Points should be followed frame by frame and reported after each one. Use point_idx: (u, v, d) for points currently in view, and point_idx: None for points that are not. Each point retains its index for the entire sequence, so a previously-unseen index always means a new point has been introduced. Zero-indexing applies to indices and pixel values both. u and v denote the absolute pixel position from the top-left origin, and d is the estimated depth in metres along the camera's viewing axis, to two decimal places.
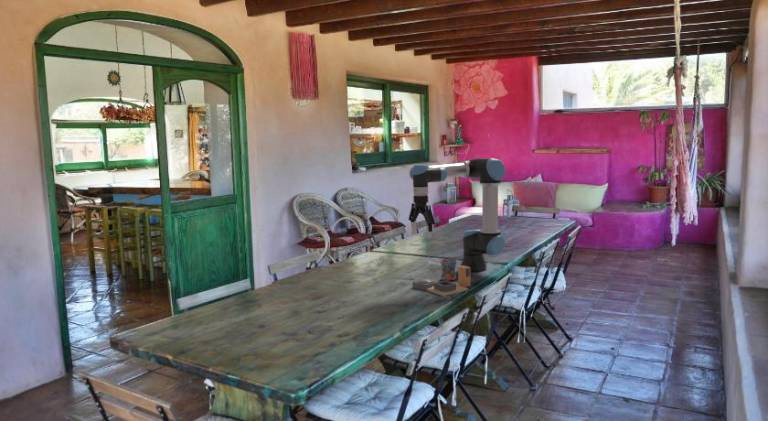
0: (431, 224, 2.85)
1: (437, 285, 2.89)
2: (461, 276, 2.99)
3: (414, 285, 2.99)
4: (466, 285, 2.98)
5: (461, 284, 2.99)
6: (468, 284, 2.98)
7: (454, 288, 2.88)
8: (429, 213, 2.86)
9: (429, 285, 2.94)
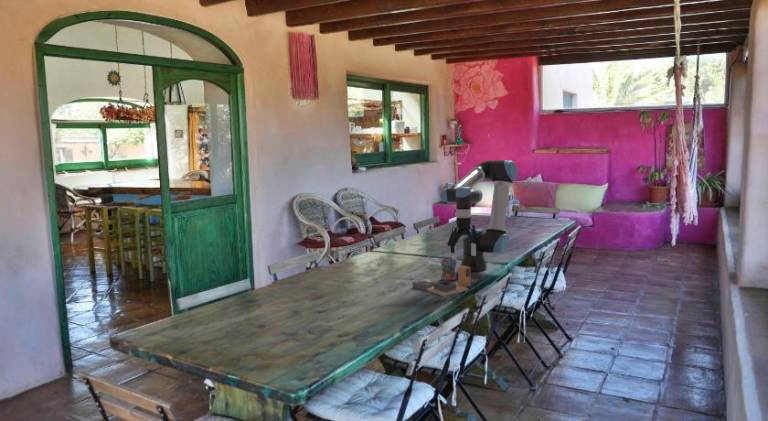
0: (448, 245, 2.92)
1: (437, 285, 2.89)
2: (461, 276, 2.99)
3: (414, 285, 2.99)
4: (466, 285, 2.98)
5: (461, 284, 2.99)
6: (468, 284, 2.98)
7: (454, 288, 2.88)
8: (451, 235, 2.92)
9: (429, 285, 2.94)
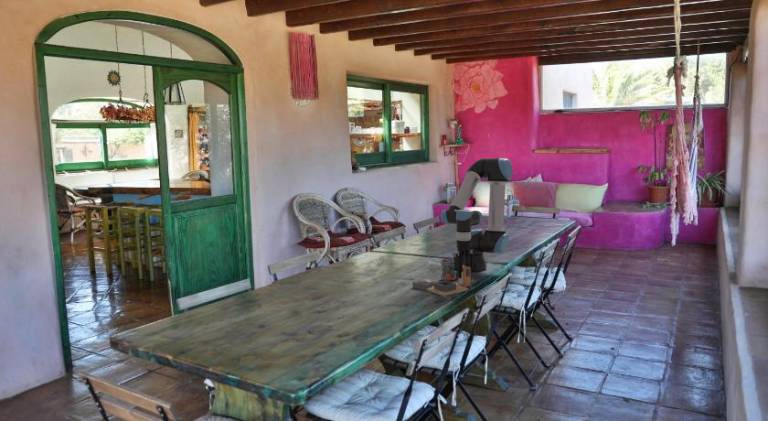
0: None
1: (437, 285, 2.89)
2: None
3: (414, 285, 2.99)
4: (466, 285, 2.98)
5: None
6: (468, 284, 2.98)
7: (454, 288, 2.88)
8: (455, 261, 2.95)
9: (429, 285, 2.94)
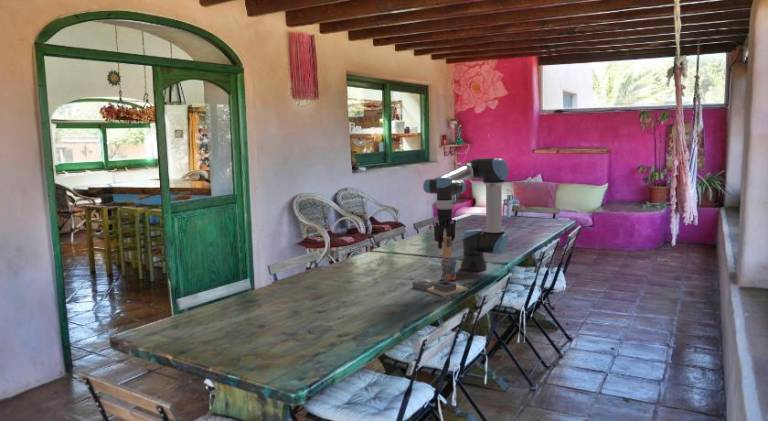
0: None
1: (437, 285, 2.89)
2: None
3: (414, 285, 2.99)
4: (447, 256, 2.85)
5: (441, 255, 2.87)
6: (449, 255, 2.86)
7: (454, 288, 2.88)
8: (435, 230, 2.83)
9: (429, 285, 2.94)
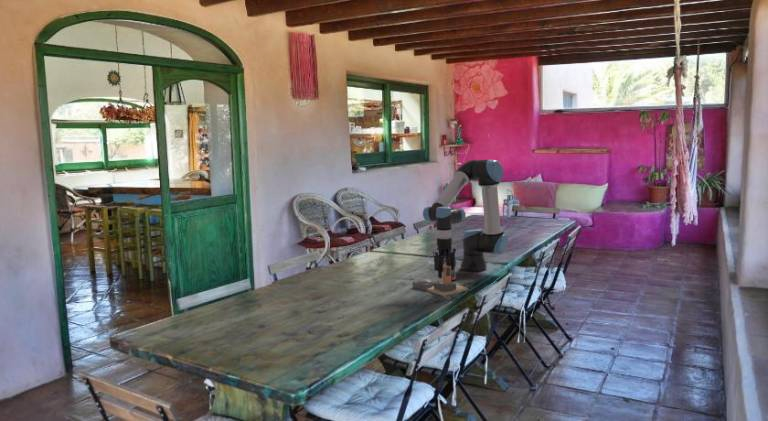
0: None
1: (437, 285, 2.89)
2: None
3: (414, 285, 2.99)
4: None
5: None
6: (449, 283, 2.88)
7: (454, 288, 2.88)
8: (435, 259, 2.85)
9: (429, 285, 2.94)
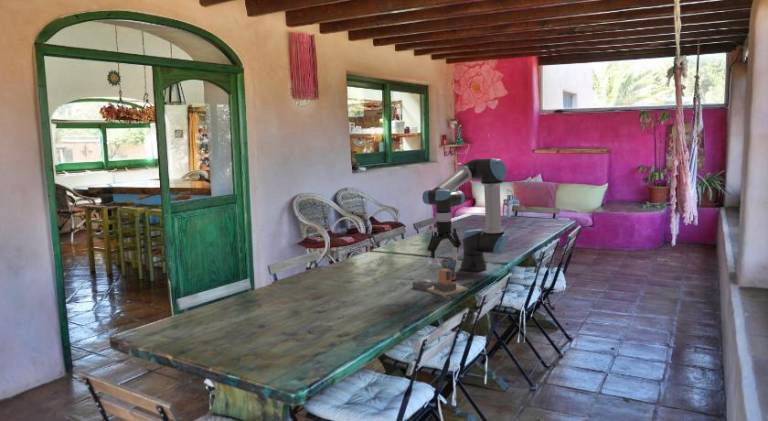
0: (428, 250, 2.83)
1: (437, 285, 2.89)
2: (441, 279, 2.88)
3: (414, 285, 2.99)
4: None
5: None
6: None
7: (454, 288, 2.88)
8: (431, 239, 2.83)
9: (429, 285, 2.94)
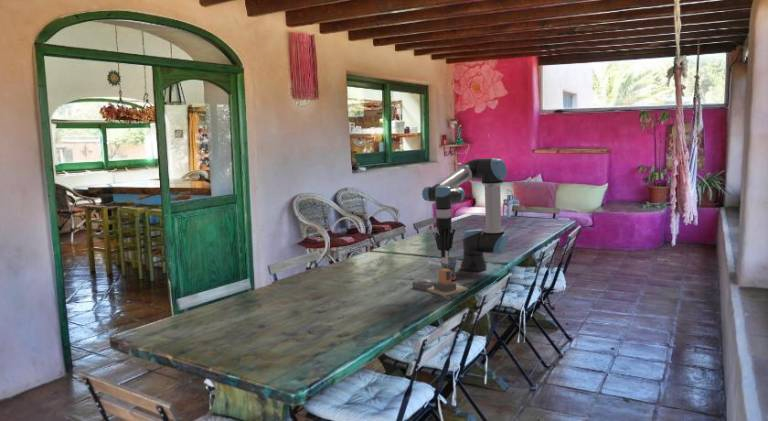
0: (438, 249, 2.86)
1: (437, 285, 2.89)
2: (441, 279, 2.88)
3: (414, 285, 2.99)
4: None
5: None
6: None
7: (454, 288, 2.88)
8: (436, 240, 2.84)
9: (429, 285, 2.94)
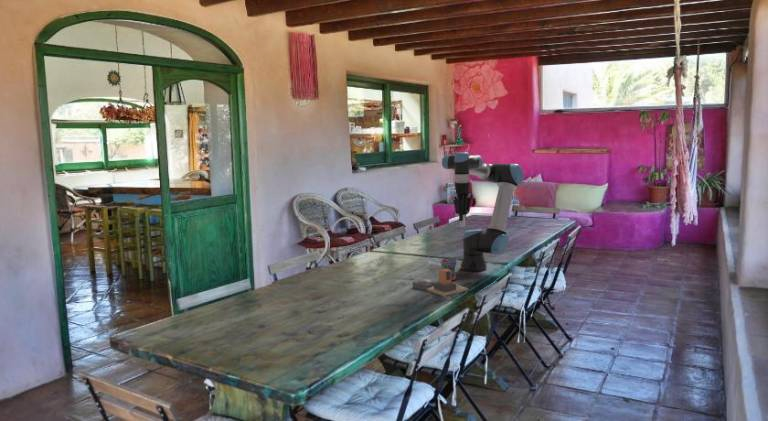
0: (457, 213, 2.99)
1: (437, 285, 2.89)
2: (441, 279, 2.88)
3: (414, 285, 2.99)
4: None
5: None
6: None
7: (454, 288, 2.88)
8: (454, 204, 2.97)
9: (429, 285, 2.94)
